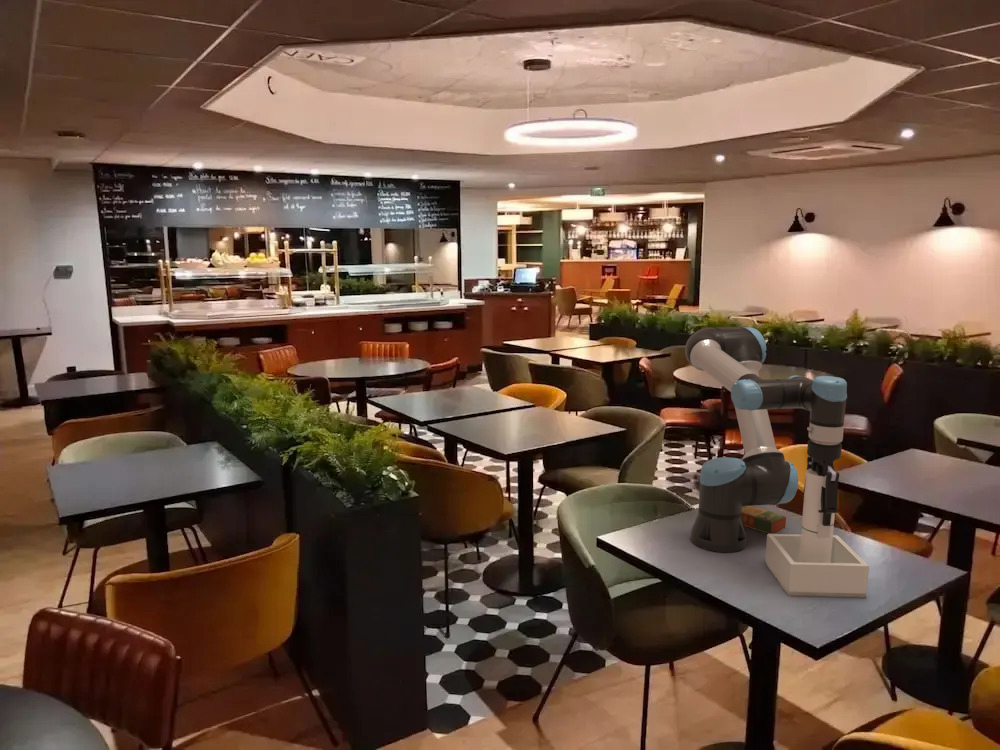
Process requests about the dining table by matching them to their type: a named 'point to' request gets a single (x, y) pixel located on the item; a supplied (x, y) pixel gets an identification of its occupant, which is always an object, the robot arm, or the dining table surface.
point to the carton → (762, 519)
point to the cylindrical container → (814, 523)
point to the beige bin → (816, 569)
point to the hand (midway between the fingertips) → (817, 530)
